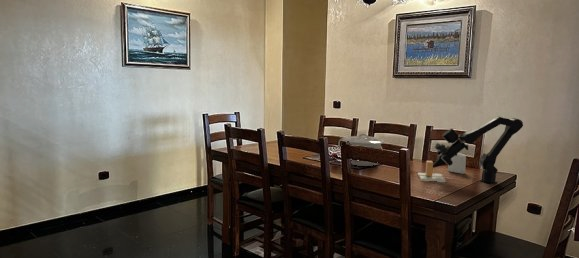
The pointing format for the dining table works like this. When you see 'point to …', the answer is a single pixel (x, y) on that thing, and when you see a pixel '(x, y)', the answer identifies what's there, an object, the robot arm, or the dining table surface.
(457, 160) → the photo printer
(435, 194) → the dining table surface
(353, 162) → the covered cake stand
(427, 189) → the dining table surface
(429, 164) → the switch knob
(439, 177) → the switch panel
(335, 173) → the dining table surface
